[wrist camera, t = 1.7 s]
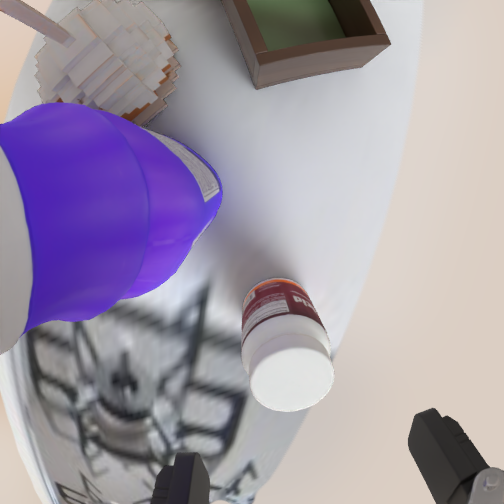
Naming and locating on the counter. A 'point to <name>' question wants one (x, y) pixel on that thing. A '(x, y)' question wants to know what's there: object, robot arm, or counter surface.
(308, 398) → the pill bottle
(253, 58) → the organiser
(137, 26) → the decorative ornament
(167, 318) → the counter surface
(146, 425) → the counter surface
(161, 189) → the bottle
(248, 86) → the counter surface
